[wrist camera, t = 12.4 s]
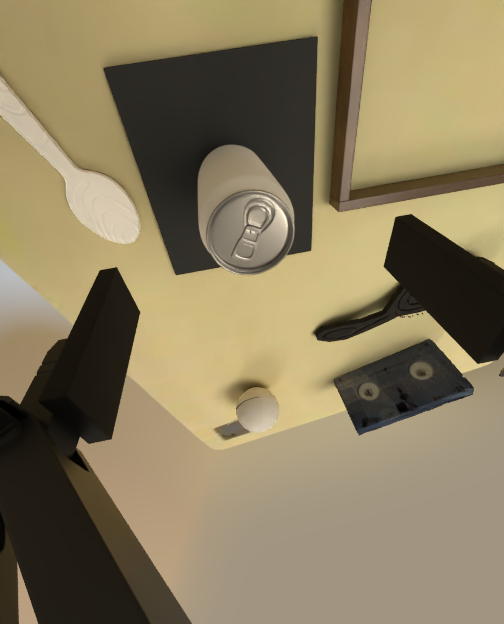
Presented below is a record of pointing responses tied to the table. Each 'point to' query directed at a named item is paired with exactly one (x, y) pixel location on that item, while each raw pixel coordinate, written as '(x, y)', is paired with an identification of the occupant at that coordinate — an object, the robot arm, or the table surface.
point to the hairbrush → (374, 317)
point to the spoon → (76, 178)
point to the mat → (219, 130)
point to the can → (243, 212)
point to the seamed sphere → (257, 410)
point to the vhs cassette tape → (401, 387)
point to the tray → (346, 129)
